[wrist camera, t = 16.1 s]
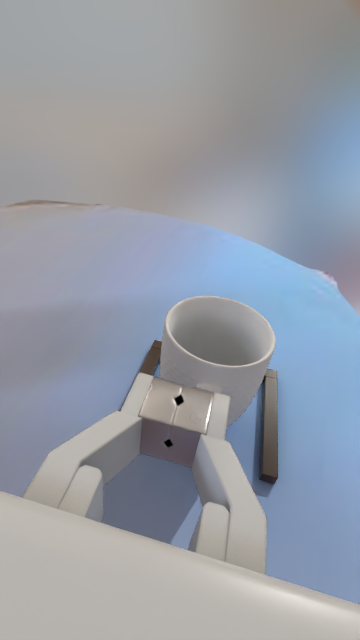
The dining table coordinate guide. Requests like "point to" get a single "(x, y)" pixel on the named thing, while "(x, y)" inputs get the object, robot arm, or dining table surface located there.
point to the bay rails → (268, 422)
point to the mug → (217, 348)
